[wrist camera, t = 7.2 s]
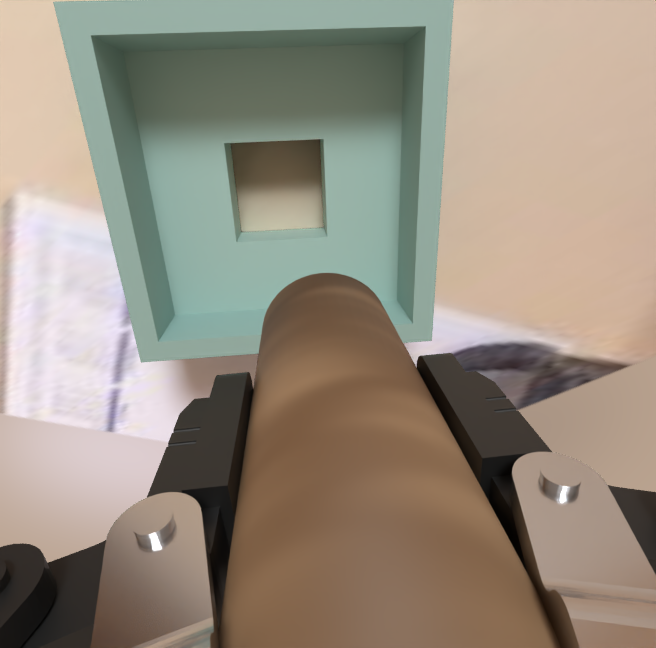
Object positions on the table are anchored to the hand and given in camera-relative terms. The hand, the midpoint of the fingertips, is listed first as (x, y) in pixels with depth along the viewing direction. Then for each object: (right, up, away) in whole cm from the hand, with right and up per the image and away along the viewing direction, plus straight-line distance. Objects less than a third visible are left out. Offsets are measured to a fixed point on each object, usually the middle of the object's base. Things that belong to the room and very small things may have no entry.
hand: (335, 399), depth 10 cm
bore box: (-3, +11, +18) cm, 21 cm away
